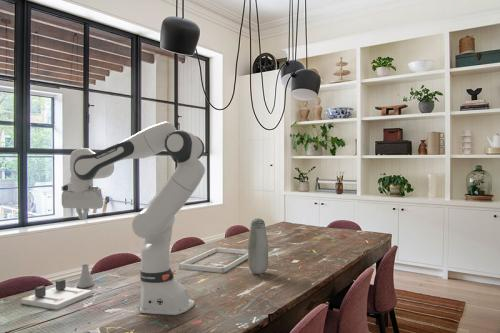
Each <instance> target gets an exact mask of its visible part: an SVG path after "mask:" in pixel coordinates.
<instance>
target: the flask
mask: <svg viewBox="0 0 500 333" xmlns="http://www.w3.org/2000/svg"><path fill="white" fill-rule="evenodd" d="M80 266H81V273H80V277H79V279H78V283H77V288H78V289H84V288H89V287H93V286H94V285H95V284H94V281H93V279H92V277H91V274H90V271H89V266H90V264H89V263H85V264H81V265H80Z"/></svg>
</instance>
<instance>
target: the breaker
mask: <svg viewBox="0 0 500 333" xmlns="http://www.w3.org/2000/svg"><path fill="white" fill-rule="evenodd" d="M66 285H67V284H66V279H64V278H60V279H58V280H55V287H56V290H62V289H65V288H66V287H67V286H66Z"/></svg>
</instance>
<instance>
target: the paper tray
mask: <svg viewBox="0 0 500 333" xmlns="http://www.w3.org/2000/svg"><path fill="white" fill-rule="evenodd" d="M221 252H222V254H223V253H224V254H234V253H235V255H236V254H237V255H242V256H240V257H239V258H237V259H236V260H233V261H232V262H229V263H228V264H227V265H225V266H223V267H220V266H208V265H201V264H200V265H198V264H193V263H195V262H198V261H199V260H202V259H204V258H206V257H209V256H211V255H213V254H214V253H221ZM208 255H209V256H208ZM245 260H248V249H237V248H236V249H235V248H224V247H223V248H222V247H214V248H211V249H210V250H207V251H205V252H202V253H201V254H198V255H196V256H193V257H191V258H189V259H186V260H184V261H182V262H180V263H178V269H180V270H181V269H182V270H187V271H188V270H190V271H198V272H199V271H200V272H208V273H209V272H210V273H219V274H224V273H226V272H228V271H230V270H231V269H233V268H234V267H236V266H238V265H239V264H241V263H243V262H245Z"/></svg>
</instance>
